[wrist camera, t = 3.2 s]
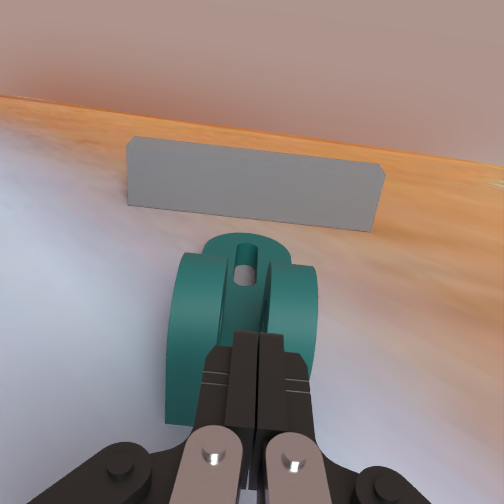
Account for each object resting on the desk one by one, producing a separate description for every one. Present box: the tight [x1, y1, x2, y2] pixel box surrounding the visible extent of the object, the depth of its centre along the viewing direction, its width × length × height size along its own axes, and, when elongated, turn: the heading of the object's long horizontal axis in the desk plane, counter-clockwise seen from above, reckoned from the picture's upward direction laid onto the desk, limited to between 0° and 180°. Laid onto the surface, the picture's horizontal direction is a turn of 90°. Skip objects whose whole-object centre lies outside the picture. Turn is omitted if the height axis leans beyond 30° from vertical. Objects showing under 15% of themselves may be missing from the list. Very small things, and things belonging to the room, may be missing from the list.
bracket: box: [165, 233, 318, 426], centre depth 30 cm, size 18×7×8 cm, turn 178°
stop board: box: [126, 136, 386, 232], centre depth 45 cm, size 24×3×6 cm, turn 88°
